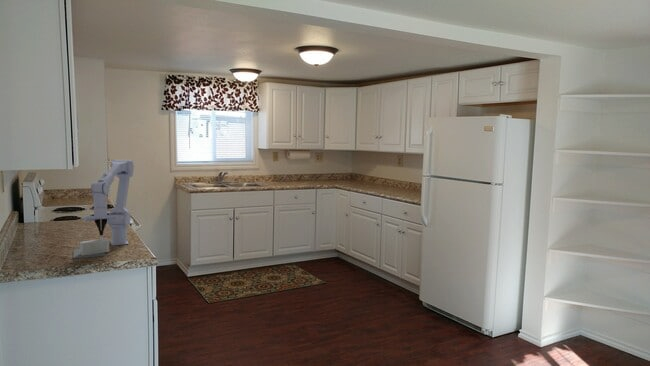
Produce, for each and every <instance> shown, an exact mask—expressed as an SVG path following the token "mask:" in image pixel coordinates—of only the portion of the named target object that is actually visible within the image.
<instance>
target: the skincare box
mask: <svg viewBox="0 0 650 366" xmlns="http://www.w3.org/2000/svg"><path fill="white" fill-rule="evenodd" d="M79 249H80V254H81V255H83V256H85V255H91V254H98V253H109V252H110V240H109V239H107V238H99V239H93V240H92V239H91V240H85V241H79Z"/></svg>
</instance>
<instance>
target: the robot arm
mask: <svg viewBox="0 0 650 366" xmlns="http://www.w3.org/2000/svg"><path fill="white" fill-rule="evenodd" d="M134 169H135V166H134V162H133V160H132V159H112V160H111V162H110V168H109V170H108V171H107V172H104V173H103V174H102V175H101V176H100V178H99V179H97V181H94V182H92V184H91V186H90V193H91V194H92V198H93V215H90V216H89V215H87V216H83V222H89V221H90V222H91V221H94V224H95V225H96V227H97V229H98V233H99V236H103V235H104V231H105V228H106V226H107V224H108V226H109V228H111V240H110V245H111V246H121V245H129V242H128V235H127V233H128V229H127V227H128V226H129V225H130V224H131V212H130V211H129V210H128V209H126V208H127V207H126V206H127V200H128V194H129V186H130V180H131V177H133V174H134ZM115 177H118V178H119V179H118V185H117V191H116V200H115V205H114V207H113V209H111V210H109V214H108V194H109V192H110V188H111V185H112V184H113V183H114V181H115Z"/></svg>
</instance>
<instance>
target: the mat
mask: <svg viewBox="0 0 650 366" xmlns="http://www.w3.org/2000/svg"><path fill="white" fill-rule="evenodd" d="M105 253H106V252H104V253H98V254H91V255H85V256H83V255H81V254H80V248H75V249H73V253H72V254H73V255H72V257H73V260H76V259H88V258H99V257H106V254H105Z"/></svg>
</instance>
